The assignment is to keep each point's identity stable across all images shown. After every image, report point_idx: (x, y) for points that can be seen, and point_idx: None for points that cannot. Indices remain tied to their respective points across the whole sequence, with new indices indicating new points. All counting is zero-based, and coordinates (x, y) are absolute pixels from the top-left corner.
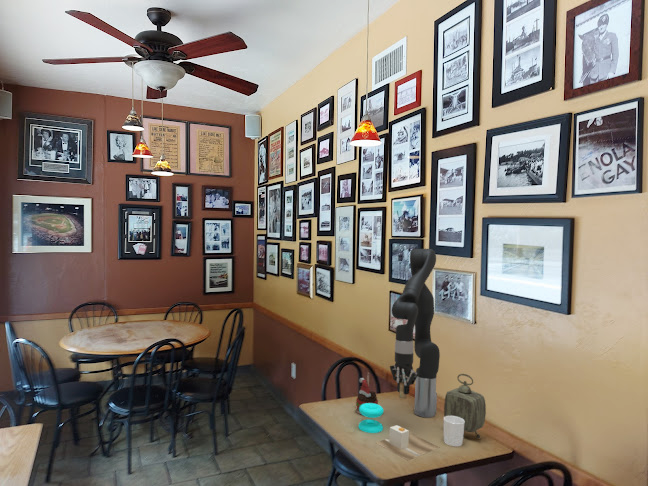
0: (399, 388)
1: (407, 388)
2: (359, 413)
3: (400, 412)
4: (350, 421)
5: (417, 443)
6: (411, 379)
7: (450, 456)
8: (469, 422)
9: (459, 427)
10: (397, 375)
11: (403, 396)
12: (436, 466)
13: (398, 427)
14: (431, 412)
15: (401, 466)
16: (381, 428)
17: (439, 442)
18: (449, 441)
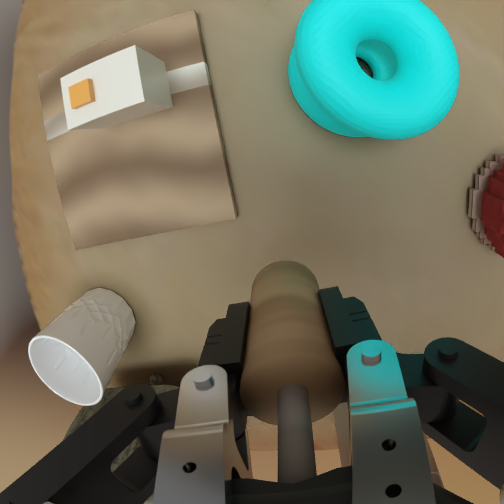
0: (325, 314)
1: (204, 361)
2: (500, 155)
3: (430, 332)
4: (461, 70)
5: (121, 186)
6: (62, 451)
7: (48, 250)
8: (85, 410)
9: (36, 349)
10: (393, 428)
11: (254, 286)
12: (12, 162)
13: (115, 93)
14: (334, 413)
15: (42, 50)
16: (300, 100)
17: (136, 291)
18: (79, 299)
